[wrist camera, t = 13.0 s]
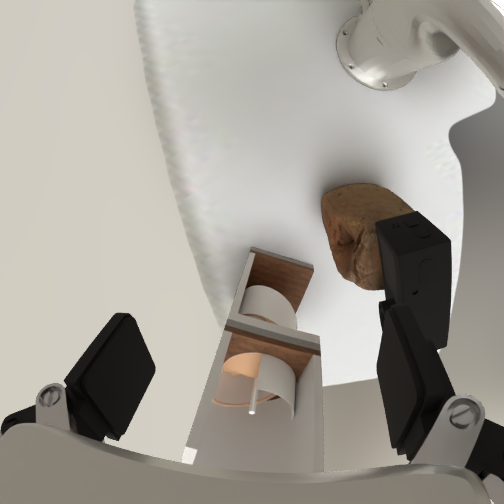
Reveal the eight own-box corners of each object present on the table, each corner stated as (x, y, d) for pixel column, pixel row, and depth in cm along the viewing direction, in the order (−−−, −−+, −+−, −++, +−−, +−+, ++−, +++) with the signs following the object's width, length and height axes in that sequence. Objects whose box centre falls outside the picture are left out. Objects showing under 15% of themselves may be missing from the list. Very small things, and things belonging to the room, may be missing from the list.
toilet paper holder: (290, 317, 54) (275, 505, 22) (235, 301, 54) (176, 483, 22) (313, 265, 49) (323, 473, 17) (251, 246, 49) (185, 446, 17)
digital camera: (361, 223, 24) (382, 259, 18) (416, 209, 23) (451, 239, 17) (376, 316, 28) (391, 364, 22) (423, 303, 27) (447, 347, 20)
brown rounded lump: (387, 182, 41) (445, 227, 23) (384, 228, 44) (432, 296, 26) (318, 182, 43) (336, 228, 25) (319, 229, 46) (333, 301, 28)
